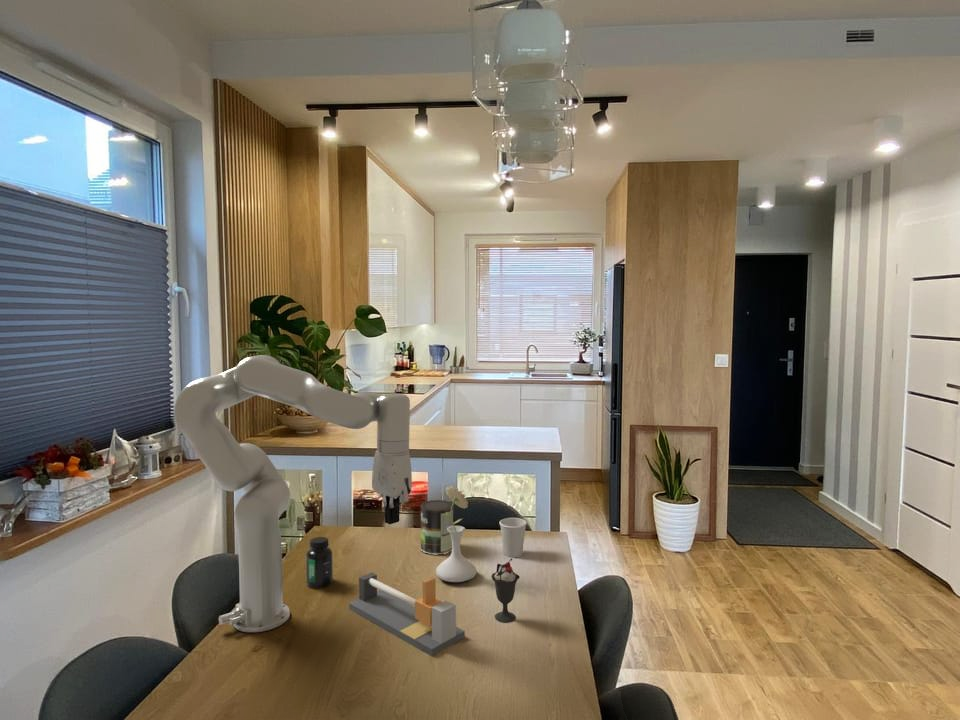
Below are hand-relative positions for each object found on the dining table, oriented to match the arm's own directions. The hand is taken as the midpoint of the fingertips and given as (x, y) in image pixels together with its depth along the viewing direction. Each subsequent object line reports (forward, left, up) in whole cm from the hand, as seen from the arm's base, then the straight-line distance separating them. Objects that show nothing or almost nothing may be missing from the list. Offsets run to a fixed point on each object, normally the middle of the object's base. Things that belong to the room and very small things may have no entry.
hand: (392, 522), depth 137 cm
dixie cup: (+49, +3, -23) cm, 54 cm away
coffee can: (+36, +23, -23) cm, 48 cm away
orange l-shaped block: (0, -13, -19) cm, 23 cm away
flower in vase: (+26, +5, -23) cm, 35 cm away
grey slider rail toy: (0, -4, -23) cm, 23 cm away
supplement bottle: (-2, +29, -23) cm, 37 cm away
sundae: (+18, -20, -23) cm, 36 cm away
